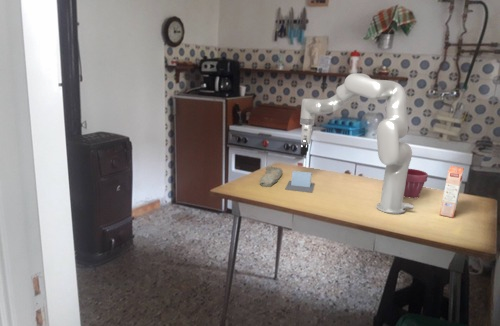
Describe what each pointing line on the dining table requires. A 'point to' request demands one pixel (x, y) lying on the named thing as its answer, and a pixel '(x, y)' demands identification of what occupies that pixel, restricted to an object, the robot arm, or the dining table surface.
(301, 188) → the mat
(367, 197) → the dining table surface
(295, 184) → the pale blue upright box
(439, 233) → the dining table surface
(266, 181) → the elongated rough stone
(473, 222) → the dining table surface
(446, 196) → the cracker box
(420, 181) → the plant pot
